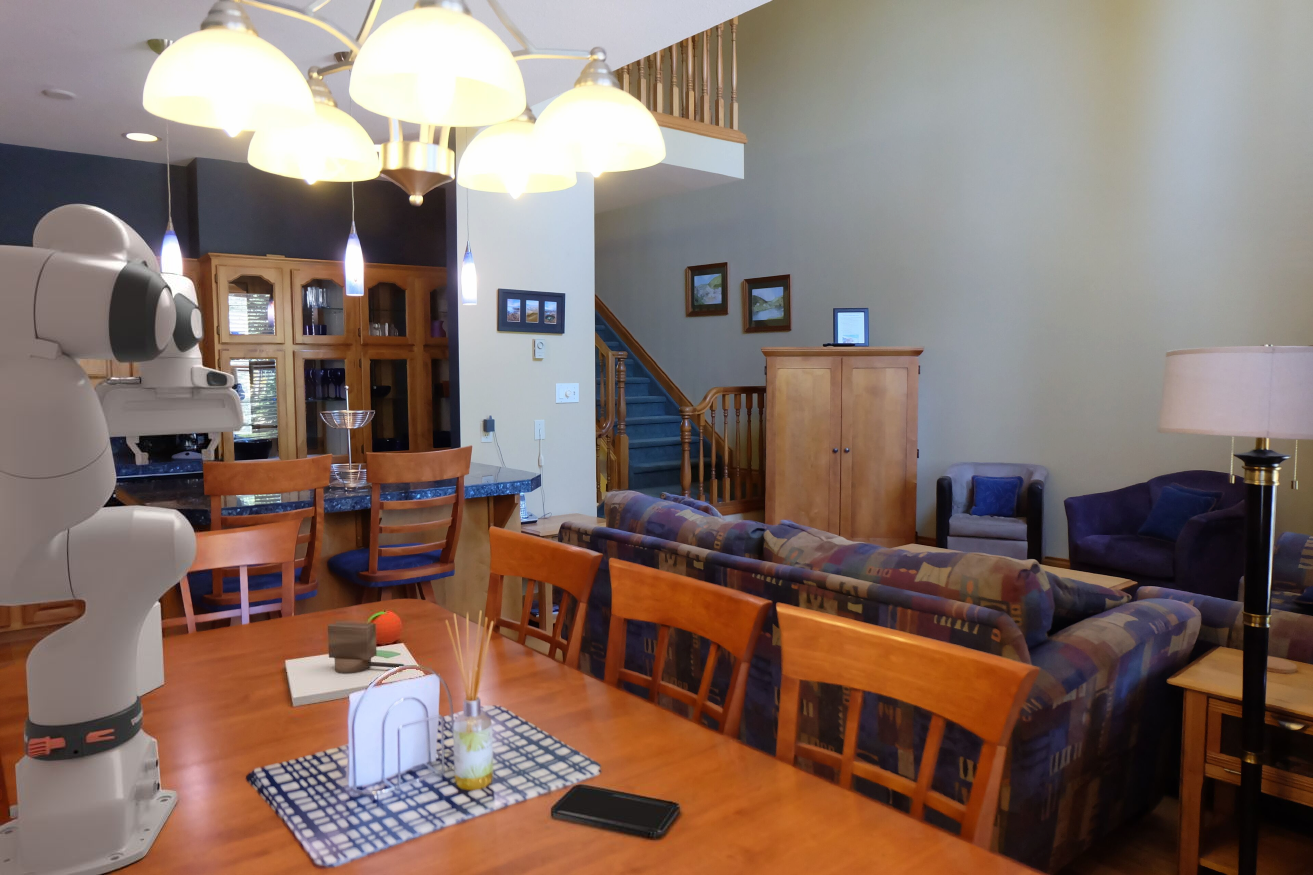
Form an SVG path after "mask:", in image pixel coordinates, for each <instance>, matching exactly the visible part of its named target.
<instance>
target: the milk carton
mask: <svg viewBox="0 0 1313 875" xmlns="http://www.w3.org/2000/svg"><path fill="white" fill-rule="evenodd" d="M161 611H162V608H161V602H159V600H158V601H157V602H156V603H155V605H154V606H153V607H152V609H151V610H150V612H149V613H148V615H147V617H146V619H145V621H144V623H143V626H142V628H141V631H140V634H139V638H138V644H137V657H136V690H137V696H139V697H140V698H141V697H142V696H144V695H145V694H148V693H149V692H152V691H154V690H155V689H157V688H160V687H161V686H163V685H164V684H165V673H164V672H165V670H164V653H163V652H164V651H163V632H162V612H161Z"/></svg>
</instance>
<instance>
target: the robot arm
mask: <svg viewBox="0 0 1313 875" xmlns="http://www.w3.org/2000/svg"><path fill="white" fill-rule="evenodd" d="M32 236H33V238H32V246H24V245H23V246H22V245H8V244H7V245H4V244H0V606H7V607H10V606H11V607H13V606H23V605H34V604H43V603H52V602H62V601H71V600H81V601H84V602H85V611H84V613H83V614H82V615H81V616H80V617H79V618H78V619H76V620H74V621H72V622H70V623H69V624H66V625H64V626H63V627H61V628H59V629H57V630H55V631H54V632H51V633H50V634H49V635H47V636H44V638H43V639H41V640H40V641H39V642H37V643H36V644H35V646H34V647H33V648H32V649H31V651H30V653H29V654H28V656H27V659H26V663H25V670H26V686H27V687H26V688H27V701H28V704H27V705H28V715H27V717H26V719H25V722H24V723H25V724H24V725H25V727H24V730H23V740H24V754H25V755H24V756H23V757H22V758H20V759H19V761H18V762H17V763H15V765H14V766H15V769H14V770H15V779H16V780H15V782H16V783H15V784H16V796H17V797H16V798H17V799H16V800H17V804H14V805H11V806H9V809H8V810H7V812H8V813H7V814H8V817H9V818H10V819H12V820H10V821H8V822H6V823H4V824H2V825H0V875H102V874H105V873H109V872H112V871H114V870H117V869H120V868H122V867H125V866H128V865H130V864H132V863H135V862H136V861H139V860H140V859H142V858H144V857H145V856H146V855H147V854H148V852H149V850H150V849H151V847H152V846H153V843H154V842H155V841H156V839H157V836H158V835H159V833H160V832H161V830H162V828H163V826H164V824H165V823H166V821H167V819H168V818H169V816H170V815H171V813H172V811H173V810H174V808H175V807H176V806H175V805H176V804H177V803H178V800H179V799H178V794H177V793H178V792H177V791H176V790H171V789H162V783H161V774H160V772H161V771H160V760H159V748H158V741H157V739H156V738H154V737H152V736H151V735H149V734H148V733H146V732H145V731H144V730H143V729H142V727H143V722H144V721H143V714H144V710H143V709H144V708H143V705H142V701H141V700H142V699H141V696H140V697H139V696H137V690H136V657H137V644H138V638H139V634H140V631H141V628H142V626H143V623H144V621H145V619H146V617H147V615H148V613H149V612H150V610H151V609H152V607H153V606H154V605H155V603H156V602H157V601H158V602H159V600H160V599H161V598H162V597H163V596H164V594H166V593H167V592H168V591H169V590H170V589H171V588H173V587H174V586H175V585H176V584H178V583H179V582H180V581H182V579H183V578H184V577H185V576H186V575H187V574H188V572H189V571H190V569H191V568H192V566H193V563H194V562H195V559H196V555H197V546H198V545H197V537H196V534H195V531H194V527H193V526H192V525H191V523H190V521H189V520H188V518H186V516H185V515H183V514H182V513H181V512H180V511H179V510H177V509H174V508H167V507H166V508H165V507H159V506H147V505H122V506H106V507H104V506H105V505H106V503H107V502H108V501H109V499H110V498H111V496H112V495H113V493H114V492H115V491H114V490H115V488H116V485H117V473H116V468H115V466H116V465H115V462H114V455H113V450H112V445H111V439H110V438H115V437H117V438H118V437H119V438H120V437H126V438H125V439H126V444H127V445H128V447H129V448H130V449H131V451H132V452H133V453H134V454H135V464H136V465H137V466H141V465H143V466H144V465H149V459H148V458H149V453H147V452H142V451H141V449H140V448H139V447H138V445H137V444H138V443H140V437H141V436H162V435H182V434H183V435H185V434H186V435H188V434H204V433H205V434H208V439H209V440H211V441H210V443H209V445H208V447H207V448H206V449H205V448H203V449H201V454H202V455H201V458H202V461H205V462H206V461H214V460H215V449H217V446H218V445H219V443H220V442H221V440H222V435H221V434H222V433H225V432H226V433H227V432H229V433H231V432H240V431H241V430H242V429H243V427H244V424H245V423H244V422H245V420H244V413H243V405H242V401H241V397H240V395H239V393H238V392H237V390H235V389H234V388H232V387H234V386H235V376H234V375H232V374H231V373H227V372H223V371H220V370H217V369H214V368H212V367H211V368H209V367H206V366H204V365H203V356H202V353H201V350H200V345H199V343H200V342H201V341H203V339H204V334H205V333H204V317H203V310H202V308H201V307H200V306H199V302H198V298H197V297H198V296H197V292H196V288H195V284H194V282H193V281H192V280H191V279H190V278H189V277H187V276H184V275H181V274H177V273H173V272H161V266H160V264H159V261H158V259H157V257H156V255H155V253H154V252H153V251H152V249H151V247H150V246H149V245H148V244H147V243H146V242H145V240H144V239H143V238H142V237H141V235H139V233H138V232H136V230H135V229H133V228H132V226H130V225H128V224H127V223H126V222H125V221H124V220H122V219H120V218H119V217H118V216H116V215H115V214H112V213H111V212H109V211H107V210H105V209H103V208H102V207H98V206H94V205H90V204H84V203H71V204H65V205H62V206H59V207H56V208H54V209H52V210H50V211H49V212H47V213H46V214H45V215H44V216H43V217H42V218H41V219H40V220H39V221H38V223H37V225H36V227H35V229H34V232H33V235H32ZM80 360H100V361H101V360H103V361H104V360H106V361H107V360H112V361H113V360H114V361H115V360H116V361H117V362H119V363H121V364H124V363H126V364H129V363H131V364H132V363H138V370H139V372H138V375H139V376H127V377H115V376H111V377H106V378H105V379H103V380H101V381H99V382H98V383H97V384H96V386H95V388H94V385H93V383H92V381H91V380H90V379H91V378H90V377H89V375H88V374H87V372H86V370H85V369H84V368H83V367H82V365H81V364H80V362H79V361H80ZM14 818H16V819H14Z"/></svg>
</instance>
